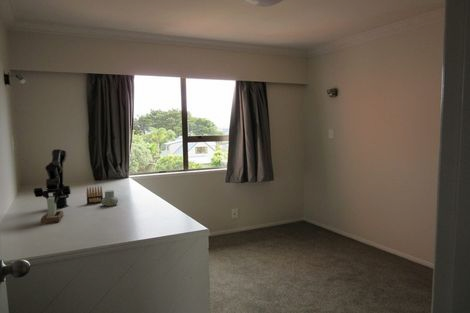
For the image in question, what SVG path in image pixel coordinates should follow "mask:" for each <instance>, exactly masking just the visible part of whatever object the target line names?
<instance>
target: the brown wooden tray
mask: <svg viewBox="0 0 470 313" xmlns="http://www.w3.org/2000/svg"><path fill="white" fill-rule="evenodd" d="M63 217H64V211H63V210H57V212H56V214H55V215H54V216H48V211H46V212H45V213H44V215H43V216H42V217H41V218H40V225H45V224H47V225H48V224H56V223H58V224H59V223H60V222H61V221H62V219H63Z"/></svg>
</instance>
